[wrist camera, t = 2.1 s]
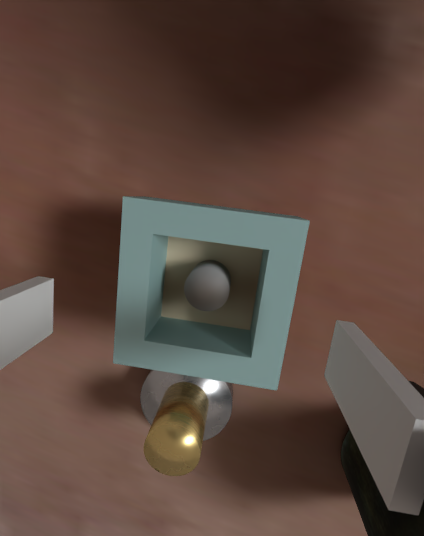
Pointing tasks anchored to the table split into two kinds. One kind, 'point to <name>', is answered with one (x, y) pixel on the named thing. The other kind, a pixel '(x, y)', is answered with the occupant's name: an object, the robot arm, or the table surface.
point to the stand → (210, 282)
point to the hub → (182, 418)
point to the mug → (375, 498)
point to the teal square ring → (195, 333)
